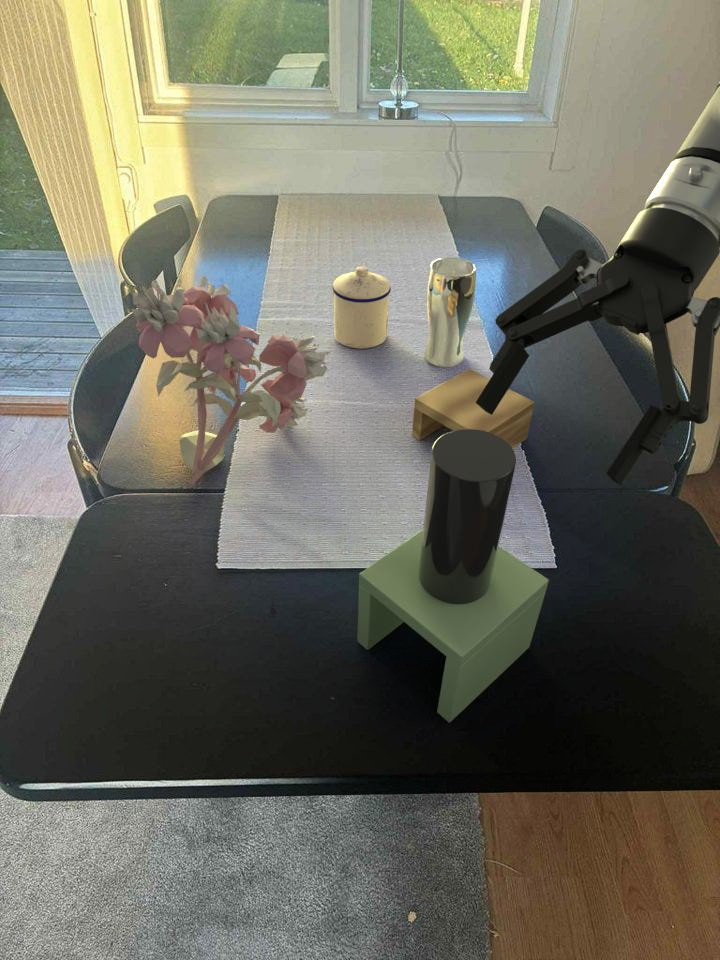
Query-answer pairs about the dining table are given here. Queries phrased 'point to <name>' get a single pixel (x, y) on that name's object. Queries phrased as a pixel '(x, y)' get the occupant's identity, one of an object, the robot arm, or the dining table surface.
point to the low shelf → (471, 410)
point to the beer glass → (449, 309)
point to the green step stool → (454, 619)
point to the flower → (223, 364)
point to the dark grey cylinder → (464, 513)
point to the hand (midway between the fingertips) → (544, 442)
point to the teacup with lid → (361, 308)
